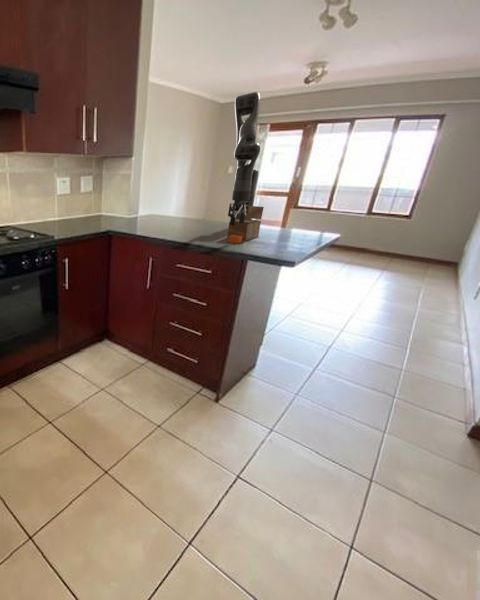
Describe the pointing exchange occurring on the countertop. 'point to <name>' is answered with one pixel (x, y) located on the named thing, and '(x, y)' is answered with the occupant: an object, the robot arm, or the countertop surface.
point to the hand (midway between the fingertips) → (236, 224)
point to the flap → (254, 212)
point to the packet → (235, 239)
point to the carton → (245, 229)
